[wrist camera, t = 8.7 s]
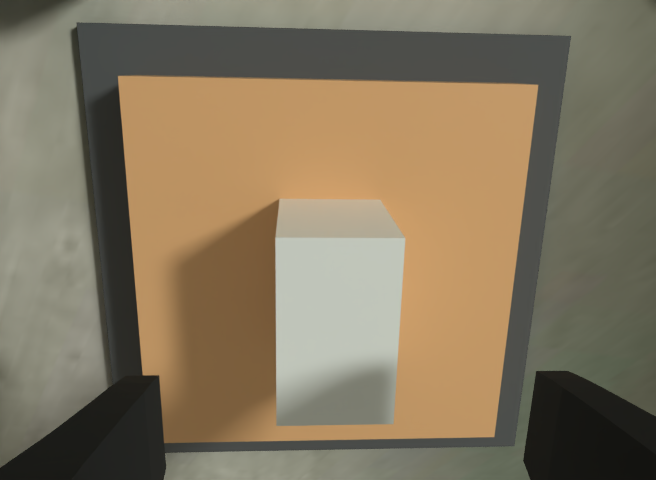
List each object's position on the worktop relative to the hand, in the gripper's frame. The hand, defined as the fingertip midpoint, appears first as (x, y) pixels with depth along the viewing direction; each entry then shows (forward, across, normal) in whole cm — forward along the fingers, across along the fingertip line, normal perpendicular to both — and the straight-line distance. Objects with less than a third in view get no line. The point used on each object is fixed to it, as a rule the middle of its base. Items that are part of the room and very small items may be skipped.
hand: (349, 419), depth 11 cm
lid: (+8, 0, 0) cm, 8 cm away
